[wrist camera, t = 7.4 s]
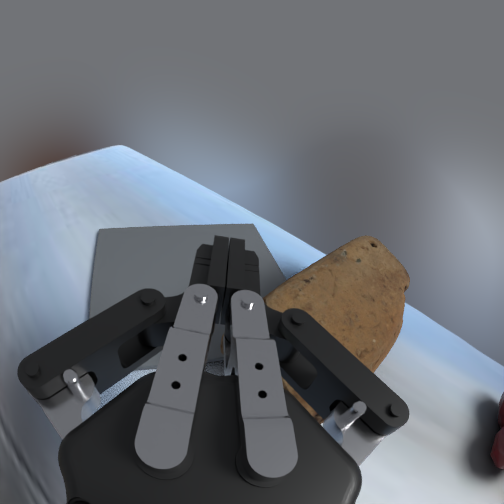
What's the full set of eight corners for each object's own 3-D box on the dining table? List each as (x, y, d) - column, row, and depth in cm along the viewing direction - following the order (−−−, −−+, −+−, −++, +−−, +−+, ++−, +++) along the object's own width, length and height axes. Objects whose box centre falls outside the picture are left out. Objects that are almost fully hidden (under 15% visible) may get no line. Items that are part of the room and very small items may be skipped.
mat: (99, 232, 36) (99, 228, 36) (252, 227, 44) (253, 223, 44) (89, 372, 21) (87, 369, 20) (318, 342, 29) (320, 338, 28)
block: (224, 307, 19) (368, 221, 31) (206, 348, 25) (336, 262, 36) (332, 433, 15) (434, 291, 27) (285, 443, 21) (393, 325, 32)
